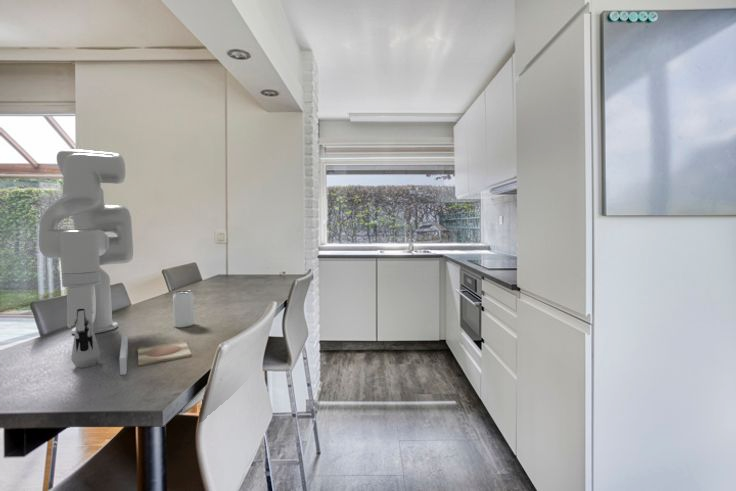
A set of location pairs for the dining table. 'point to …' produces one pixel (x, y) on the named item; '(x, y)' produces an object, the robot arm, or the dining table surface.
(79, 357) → the salt shaker
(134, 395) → the dining table surface
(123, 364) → the acrylic wall
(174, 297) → the can
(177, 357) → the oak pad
